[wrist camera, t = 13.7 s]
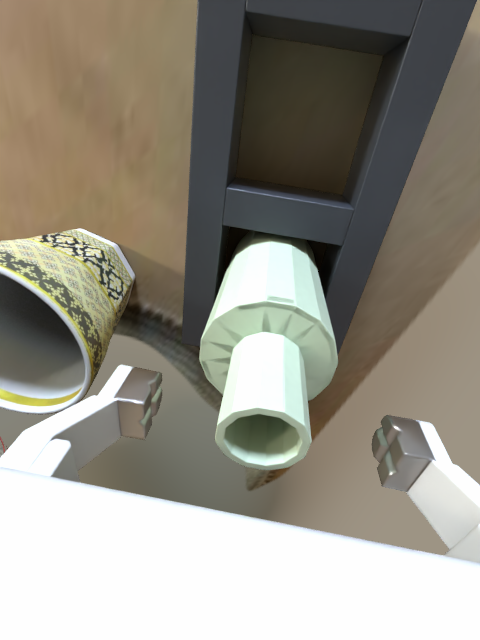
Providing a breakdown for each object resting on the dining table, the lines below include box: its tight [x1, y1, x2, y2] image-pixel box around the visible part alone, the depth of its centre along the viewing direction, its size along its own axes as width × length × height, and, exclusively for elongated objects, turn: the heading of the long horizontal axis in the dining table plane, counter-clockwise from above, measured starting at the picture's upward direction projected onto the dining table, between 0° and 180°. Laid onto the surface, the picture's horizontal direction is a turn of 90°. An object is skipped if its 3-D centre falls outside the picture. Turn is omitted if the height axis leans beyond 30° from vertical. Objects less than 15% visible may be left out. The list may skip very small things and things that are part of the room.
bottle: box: [199, 230, 338, 470], centre depth 16 cm, size 6×6×15 cm
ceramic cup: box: [0, 229, 135, 414], centre depth 20 cm, size 13×10×10 cm
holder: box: [182, 0, 477, 356], centre depth 19 cm, size 11×20×4 cm, turn 172°
